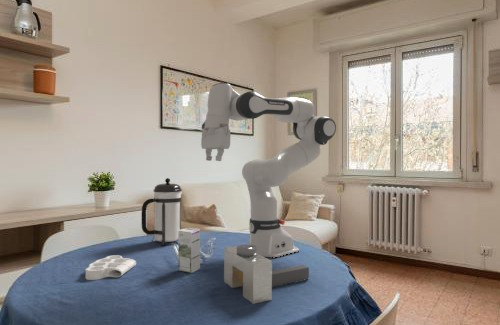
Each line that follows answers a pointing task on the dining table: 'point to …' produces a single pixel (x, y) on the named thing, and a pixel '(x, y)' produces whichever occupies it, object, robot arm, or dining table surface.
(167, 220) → the coffee press
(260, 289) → the grey bridge block
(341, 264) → the dining table surface
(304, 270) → the grey and tan bar
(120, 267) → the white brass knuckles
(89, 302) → the dining table surface
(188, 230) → the syrup box
